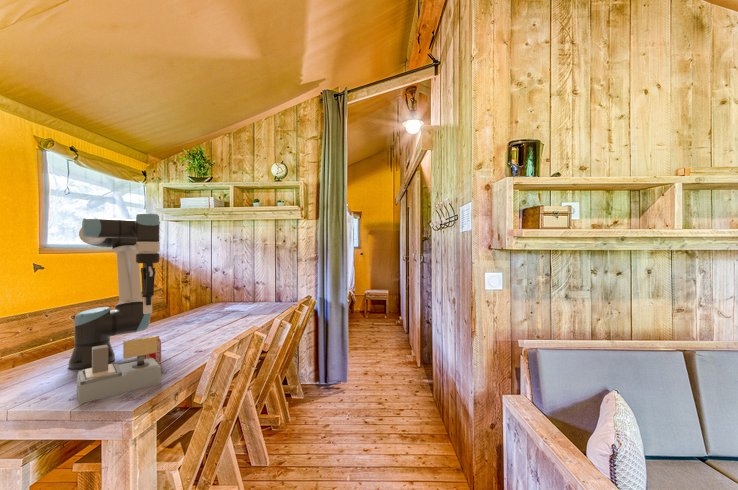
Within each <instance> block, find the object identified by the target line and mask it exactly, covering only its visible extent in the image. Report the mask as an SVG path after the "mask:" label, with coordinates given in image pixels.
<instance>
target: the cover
mask: <svg viewBox="0 0 738 490" xmlns="http://www.w3.org/2000/svg"><path fill="white" fill-rule="evenodd" d="M112 364H113V363H108V345H102V346H96V347H92V368H86V369H84V370H85V378H86V380H88V379H92V378H97V377H101V376H106V375H110V374H115V373H116V371H115V369H114V367H113V365H112Z"/></svg>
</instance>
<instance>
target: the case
mask: <svg viewBox="0 0 738 490" xmlns="http://www.w3.org/2000/svg"><path fill="white" fill-rule="evenodd" d="M111 364H112V365H113V367H114V369H115V371H116V373H115V374H110V375H106V376H101V377H97V378H92V379H88V380H86V378H85V369H79V370H78V373H77V374H76V378H77V379H76V386H77V388H76V390H77V391H76V392H77V399H78V404H79V405H81V404H84V403H88V402H92V401H95V400H100V399H104V398H107V397H112V396H115V395H119V394H123V393H128V392H132V391H136V390H138V389H143V388H146V387H151V386H154V385H160V384H161V383H162V366H161V365H160V364H158V363H157V362H156V361H155V360H154V359H153V358H149V359H144V365H142V366H137V360H136V361H135V360H134V361H129V362H126V363H122V364H121V363H120V364H118V362H113V363H111Z"/></svg>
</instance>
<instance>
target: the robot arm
mask: <svg viewBox="0 0 738 490" xmlns="http://www.w3.org/2000/svg"><path fill="white" fill-rule="evenodd" d="M160 224H161V221H160V215H159V214H156V213H149V212H138V213H137V214H136V217H135V219H127V218H126V219H125V218H124V219H122V218H103V217H102V218H101V217H95V216H94V217H83V219H82V223H81V227H80V229H79V232H78V236H79V239H80V240H81V241H82V242H83V243H85V244H87V245H90V246H93V247H99V248H100V247H101V248H112V252H113V253H114V254H115V255H116V263H117V265H116V266H117V284H118V285H117V286H118V303H117V304H115V305H114V307H115V308H114V309H111V307H109V306H104V307H103V306H102V307H96V308H90V309H87V310H83V311H81V312H78V313H77V314H76V315H75V316H74V324H73V327H74V344H73V345H74V346H73V347H74V348H73V350H72V353H71V355H70V357H69V360H68V368H69V369H70V370H85V369H89V368H92V347H96V346H102V345H108V364H111V363H112V362H113V361H115V359H116V353H115V351H114V349H113V347H112V345H111V340H110V339H111V338H110V337H112V336H120V335H126V334H130V333H131V334H132V333H138V332H139V333H140V332H143V331H145V330H147V329H148V327H149V325H150V322H151V314H153V296H154V294H155V293H154V291H155V276H156V268H155V267H154V264H156V263H160V253H159V252H160V251H161V250H160V249H161V248H160V246H161V245H160V243H161V242H160V227H161V226H160ZM140 264H142V267H140Z"/></svg>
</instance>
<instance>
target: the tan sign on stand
mask: <svg viewBox="0 0 738 490" xmlns="http://www.w3.org/2000/svg"><path fill="white" fill-rule="evenodd" d="M149 336H150V337H149ZM149 336H144V337H141V338H140V337H139V338H133V339H128V340H123V342H122V343H123V348H122V351H123V353H122V355H123V359H124V360H125V359H126V360H127V359H131V358H136V361H137V366H142V365H144V355H147V354H151V353H156V352H157V336H158V335H149Z"/></svg>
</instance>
